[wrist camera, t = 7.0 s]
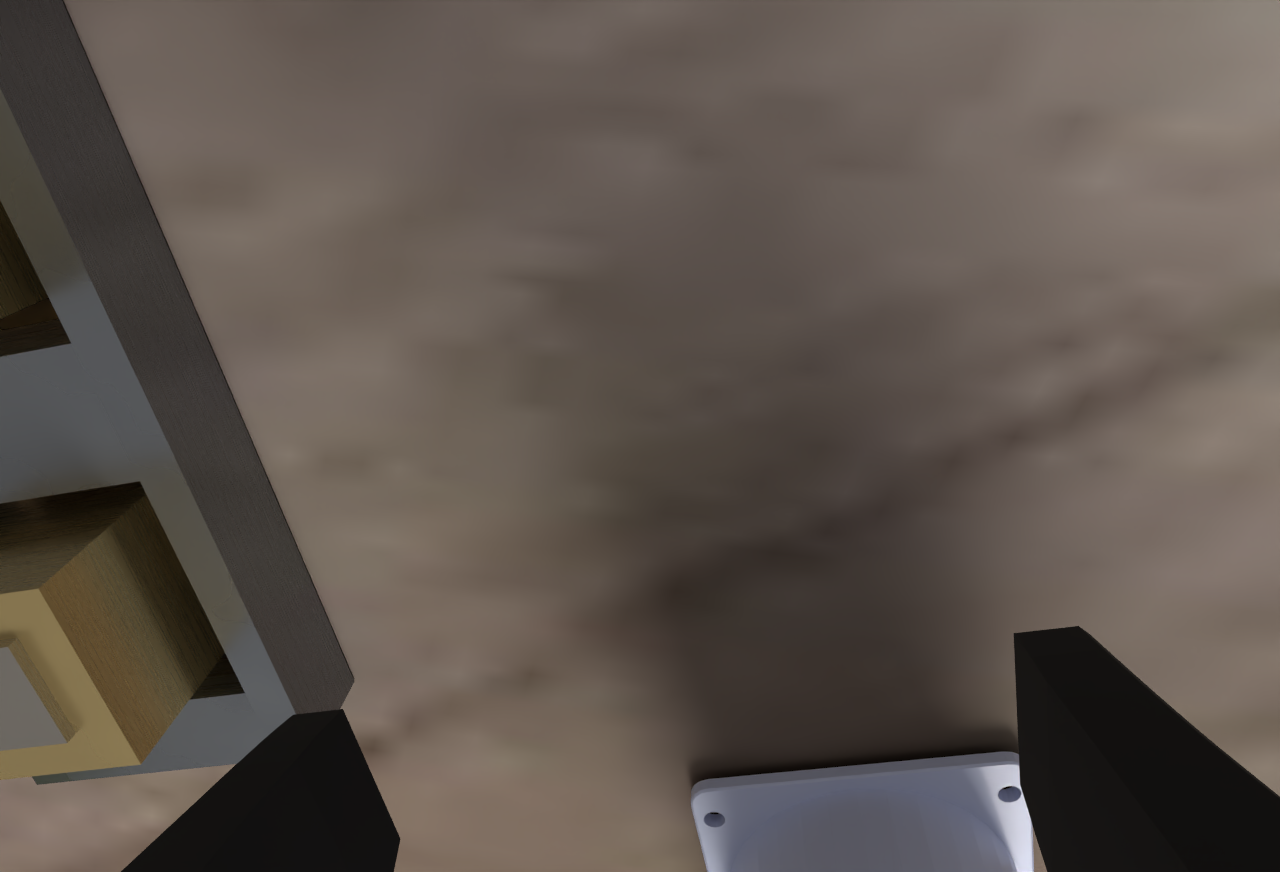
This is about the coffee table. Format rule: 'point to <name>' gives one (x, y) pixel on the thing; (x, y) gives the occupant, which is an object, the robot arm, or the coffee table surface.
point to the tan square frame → (93, 632)
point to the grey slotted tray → (142, 401)
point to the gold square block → (16, 272)
